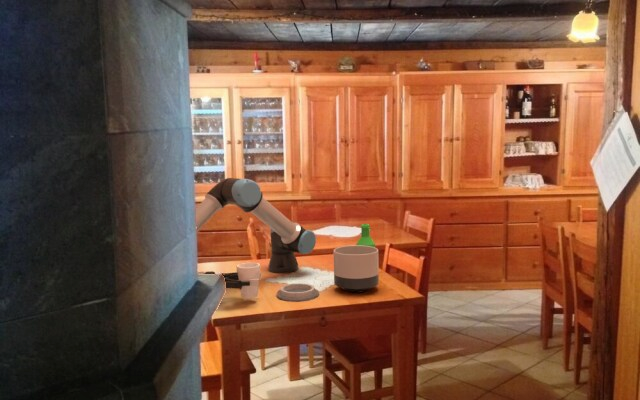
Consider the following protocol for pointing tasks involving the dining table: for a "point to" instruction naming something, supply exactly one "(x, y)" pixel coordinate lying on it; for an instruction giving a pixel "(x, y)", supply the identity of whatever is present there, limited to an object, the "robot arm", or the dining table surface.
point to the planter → (356, 267)
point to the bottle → (365, 236)
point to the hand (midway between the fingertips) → (259, 279)
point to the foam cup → (249, 272)
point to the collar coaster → (297, 292)
